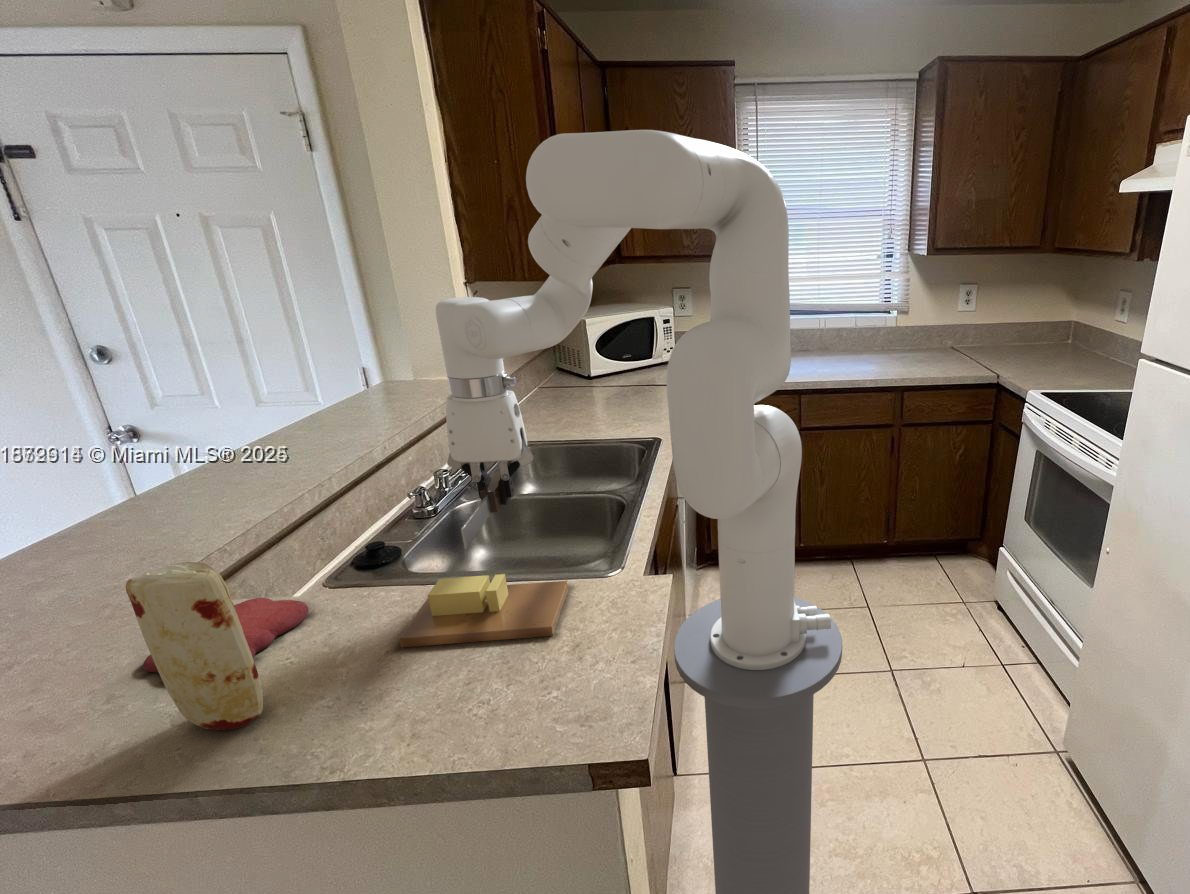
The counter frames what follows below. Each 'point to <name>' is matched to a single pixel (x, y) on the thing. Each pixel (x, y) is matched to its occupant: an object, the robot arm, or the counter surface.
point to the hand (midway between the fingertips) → (497, 500)
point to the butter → (459, 595)
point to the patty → (261, 622)
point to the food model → (198, 644)
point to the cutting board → (493, 618)
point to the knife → (483, 510)
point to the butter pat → (497, 593)
